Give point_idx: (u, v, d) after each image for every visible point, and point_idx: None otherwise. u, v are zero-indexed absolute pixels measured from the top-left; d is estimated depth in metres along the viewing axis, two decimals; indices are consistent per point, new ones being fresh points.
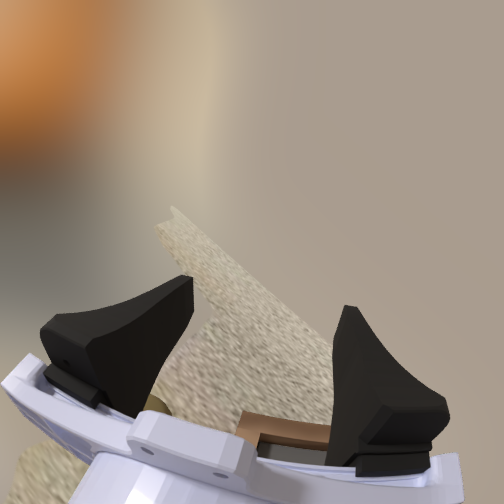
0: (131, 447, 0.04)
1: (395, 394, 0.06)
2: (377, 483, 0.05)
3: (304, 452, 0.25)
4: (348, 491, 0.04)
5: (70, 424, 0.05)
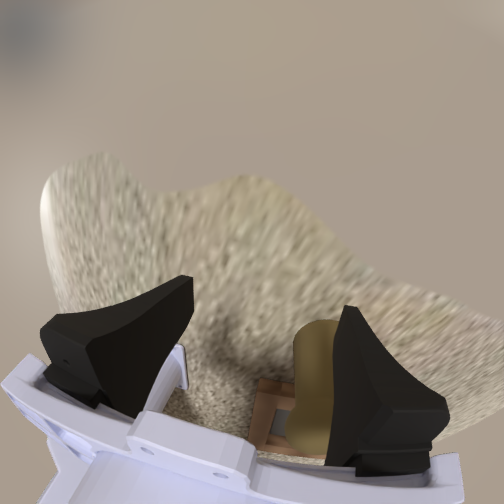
0: (131, 447, 0.04)
1: (395, 395, 0.06)
2: (377, 483, 0.05)
3: None
4: (348, 491, 0.04)
5: (70, 424, 0.05)
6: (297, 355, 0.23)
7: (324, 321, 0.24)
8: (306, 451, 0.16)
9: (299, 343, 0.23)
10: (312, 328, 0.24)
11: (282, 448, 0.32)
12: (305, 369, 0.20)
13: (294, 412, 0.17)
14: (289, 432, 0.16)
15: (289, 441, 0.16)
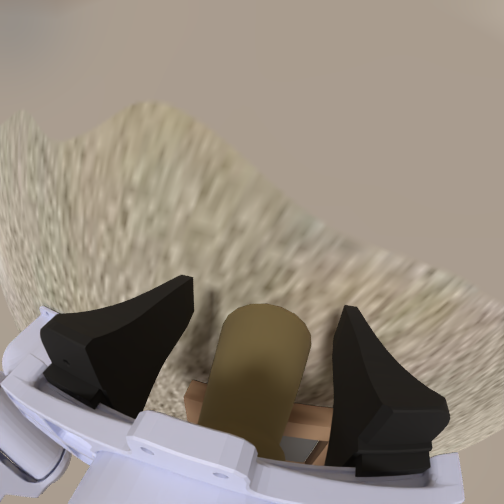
0: (131, 447, 0.04)
1: (395, 395, 0.06)
2: (377, 483, 0.05)
3: (309, 447, 0.23)
4: (348, 491, 0.04)
5: (70, 424, 0.05)
6: (216, 352, 0.16)
7: (258, 306, 0.17)
8: None
9: (221, 336, 0.17)
10: (240, 315, 0.17)
11: None
12: (216, 374, 0.14)
13: None
14: None
15: None
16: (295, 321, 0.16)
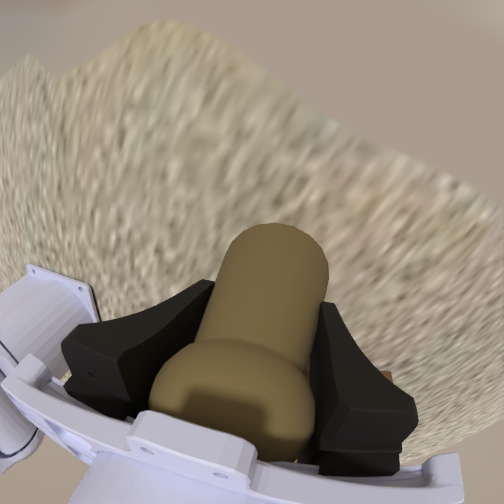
0: (131, 447, 0.04)
1: (357, 392, 0.06)
2: None
3: None
4: (348, 491, 0.04)
5: (70, 424, 0.05)
6: (217, 279, 0.14)
7: (267, 225, 0.15)
8: None
9: (224, 261, 0.14)
10: (245, 235, 0.15)
11: None
12: (216, 292, 0.11)
13: (163, 365, 0.08)
14: (149, 409, 0.07)
15: None
16: (311, 242, 0.14)
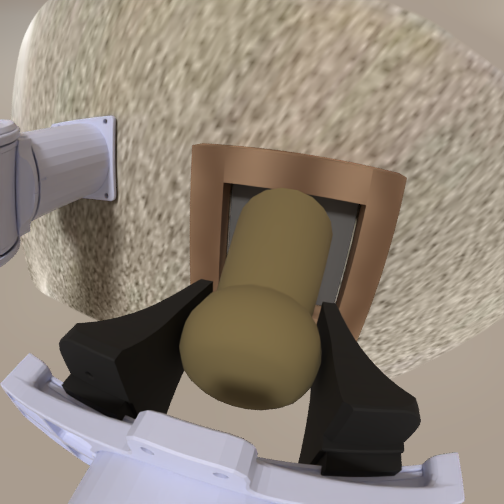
0: (131, 447, 0.04)
1: (360, 392, 0.06)
2: None
3: (340, 260, 0.22)
4: (348, 491, 0.04)
5: (70, 424, 0.05)
6: (232, 240, 0.16)
7: (273, 190, 0.16)
8: (222, 398, 0.09)
9: (237, 225, 0.16)
10: (255, 200, 0.16)
11: None
12: (232, 251, 0.13)
13: (191, 312, 0.10)
14: (180, 352, 0.09)
15: (187, 373, 0.10)
16: (313, 203, 0.16)
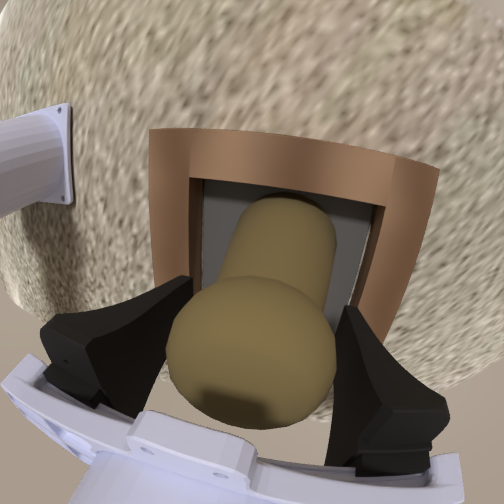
0: (131, 447, 0.04)
1: (395, 394, 0.06)
2: (377, 483, 0.05)
3: (347, 279, 0.17)
4: (348, 491, 0.04)
5: (70, 424, 0.05)
6: (229, 245, 0.14)
7: (274, 193, 0.15)
8: (216, 414, 0.07)
9: None
10: (255, 204, 0.15)
11: None
12: (230, 250, 0.12)
13: (181, 309, 0.08)
14: (166, 355, 0.08)
15: (173, 382, 0.08)
16: (317, 207, 0.15)
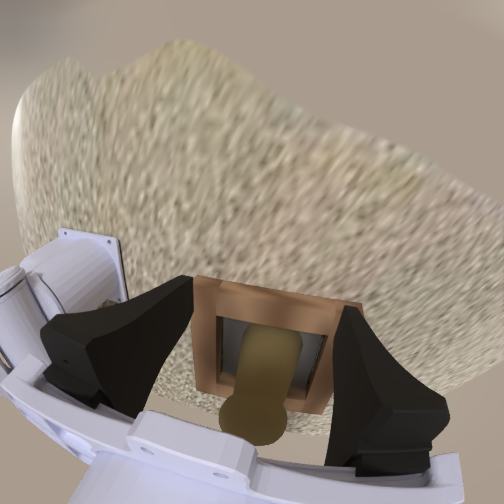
0: (131, 447, 0.04)
1: (395, 395, 0.06)
2: (377, 483, 0.05)
3: (310, 360, 0.27)
4: (348, 491, 0.04)
5: (70, 424, 0.05)
6: (240, 352, 0.25)
7: None
8: None
9: (243, 341, 0.26)
10: (254, 327, 0.26)
11: None
12: (242, 364, 0.22)
13: (224, 403, 0.19)
14: (219, 421, 0.18)
15: (222, 429, 0.18)
16: None
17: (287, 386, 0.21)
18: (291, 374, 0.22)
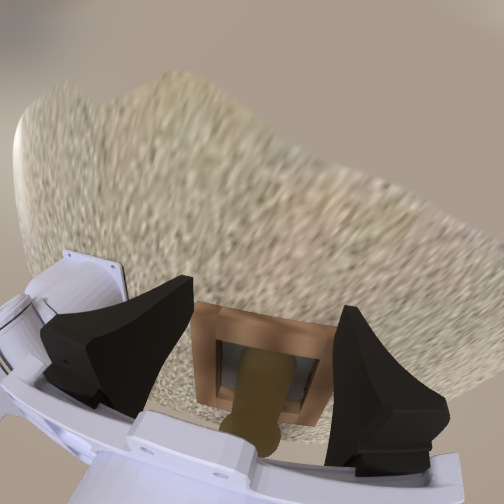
0: (131, 447, 0.04)
1: (395, 394, 0.06)
2: (377, 483, 0.05)
3: (303, 378, 0.28)
4: (348, 491, 0.04)
5: (70, 424, 0.05)
6: (238, 372, 0.26)
7: None
8: None
9: (241, 362, 0.27)
10: (251, 349, 0.27)
11: None
12: (240, 385, 0.24)
13: (223, 421, 0.20)
14: None
15: None
16: None
17: (281, 405, 0.23)
18: (285, 394, 0.24)
